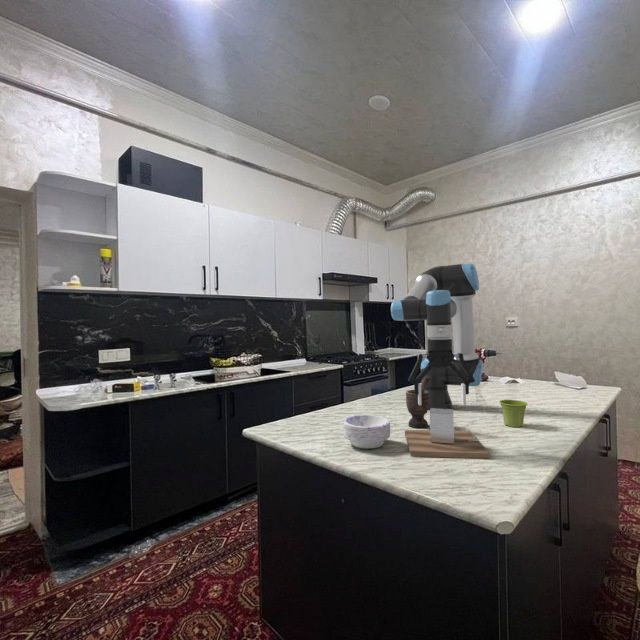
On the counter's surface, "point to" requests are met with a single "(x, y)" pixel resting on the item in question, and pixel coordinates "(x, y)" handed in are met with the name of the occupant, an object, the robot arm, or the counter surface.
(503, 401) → the plant pot
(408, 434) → the board
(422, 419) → the mortar and pestle
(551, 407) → the counter surface
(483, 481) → the counter surface
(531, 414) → the counter surface
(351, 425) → the paper bowls
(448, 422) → the grey block with bar
